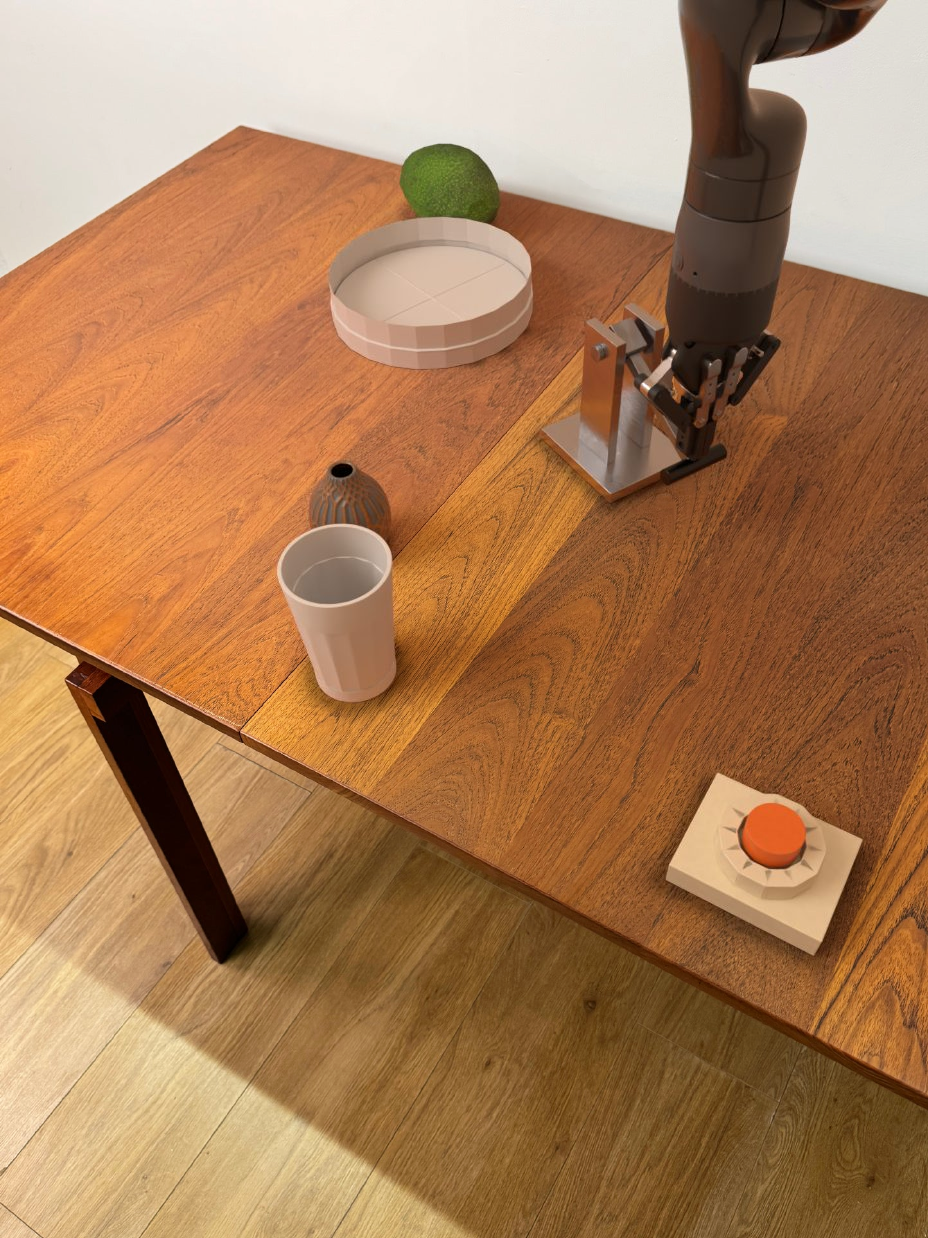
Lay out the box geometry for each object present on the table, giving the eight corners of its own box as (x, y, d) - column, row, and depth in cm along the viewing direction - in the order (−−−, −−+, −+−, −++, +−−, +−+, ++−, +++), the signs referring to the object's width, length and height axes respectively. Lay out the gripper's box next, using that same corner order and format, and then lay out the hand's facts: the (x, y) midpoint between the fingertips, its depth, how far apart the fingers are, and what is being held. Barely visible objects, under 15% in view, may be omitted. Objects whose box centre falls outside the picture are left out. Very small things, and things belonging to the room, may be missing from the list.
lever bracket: (689, 466, 92) (711, 337, 81) (609, 503, 89) (622, 375, 78) (616, 404, 98) (628, 277, 87) (540, 438, 95) (543, 310, 85)
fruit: (384, 213, 124) (375, 131, 117) (452, 190, 127) (448, 109, 120) (444, 266, 116) (439, 182, 108) (516, 240, 119) (516, 157, 111)
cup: (426, 653, 79) (414, 546, 70) (369, 727, 74) (348, 623, 65) (343, 616, 82) (321, 509, 72) (284, 685, 77) (253, 580, 68)
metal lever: (719, 463, 85) (732, 452, 83) (663, 490, 83) (675, 479, 81) (638, 323, 86) (649, 309, 84) (581, 346, 85) (591, 332, 82)
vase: (364, 507, 90) (352, 430, 83) (411, 548, 86) (401, 471, 80) (300, 543, 87) (282, 467, 81) (345, 587, 84) (330, 511, 77)
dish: (294, 305, 112) (286, 264, 108) (449, 236, 120) (447, 196, 116) (412, 397, 100) (408, 354, 96) (575, 313, 108) (577, 271, 105)
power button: (808, 832, 63) (814, 819, 62) (788, 877, 61) (794, 864, 60) (754, 807, 65) (759, 793, 63) (732, 850, 63) (737, 837, 61)
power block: (854, 855, 66) (870, 825, 63) (813, 956, 62) (828, 930, 59) (712, 788, 70) (721, 757, 67) (665, 880, 66) (672, 851, 62)
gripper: (686, 315, 65) (657, 509, 78) (836, 253, 69) (785, 447, 82) (616, 264, 69) (600, 457, 82) (761, 209, 73) (724, 401, 86)
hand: (692, 452), depth 82 cm, fingers closed
